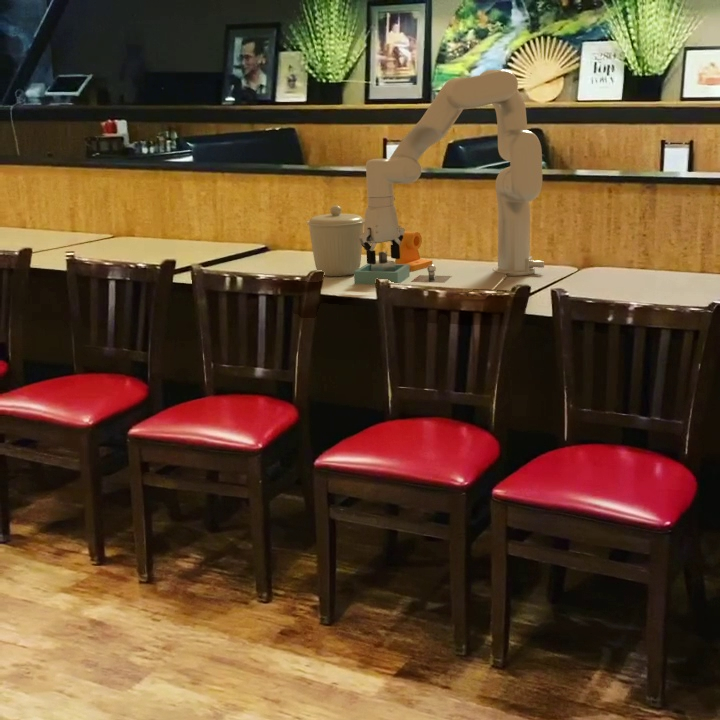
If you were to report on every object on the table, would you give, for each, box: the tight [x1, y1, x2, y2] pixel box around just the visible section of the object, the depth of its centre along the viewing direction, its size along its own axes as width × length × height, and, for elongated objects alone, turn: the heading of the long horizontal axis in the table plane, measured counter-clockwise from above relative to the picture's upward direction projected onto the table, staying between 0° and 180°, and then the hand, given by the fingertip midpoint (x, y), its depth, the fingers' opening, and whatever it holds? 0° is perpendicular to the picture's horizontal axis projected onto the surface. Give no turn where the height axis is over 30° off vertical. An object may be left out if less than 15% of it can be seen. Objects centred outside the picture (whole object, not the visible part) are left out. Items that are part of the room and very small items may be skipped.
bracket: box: [394, 230, 434, 272], centre depth 325 cm, size 11×7×12 cm, turn 142°
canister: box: [306, 205, 365, 277], centre depth 322 cm, size 18×18×21 cm
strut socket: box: [371, 251, 395, 272], centre depth 307 cm, size 5×5×8 cm
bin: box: [353, 263, 411, 285], centre depth 308 cm, size 13×13×4 cm
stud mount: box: [410, 264, 453, 284], centre depth 307 cm, size 10×10×5 cm
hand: (383, 261), depth 307 cm, fingers open, 9 cm apart
